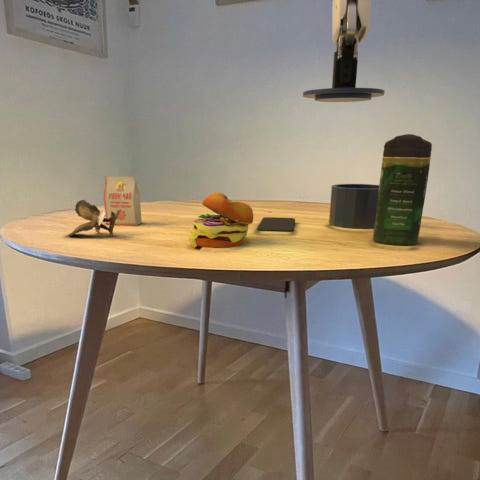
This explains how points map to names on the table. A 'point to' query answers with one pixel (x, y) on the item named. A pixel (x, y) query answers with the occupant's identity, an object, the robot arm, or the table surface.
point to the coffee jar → (402, 190)
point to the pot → (353, 205)
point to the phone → (276, 224)
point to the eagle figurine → (93, 218)
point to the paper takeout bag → (122, 200)
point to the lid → (342, 91)
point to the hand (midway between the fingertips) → (343, 89)
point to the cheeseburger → (221, 223)
